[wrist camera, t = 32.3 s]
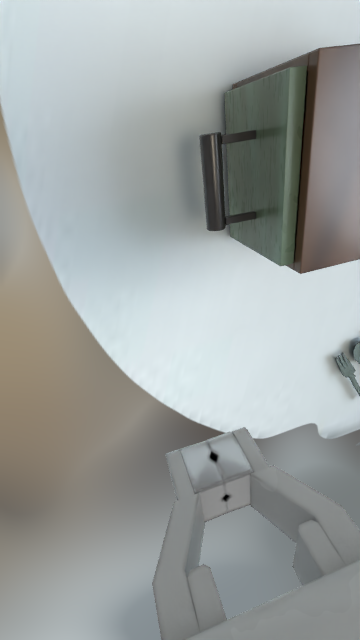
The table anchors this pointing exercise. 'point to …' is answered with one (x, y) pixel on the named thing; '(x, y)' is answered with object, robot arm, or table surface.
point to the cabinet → (328, 158)
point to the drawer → (259, 164)
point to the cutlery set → (350, 366)
